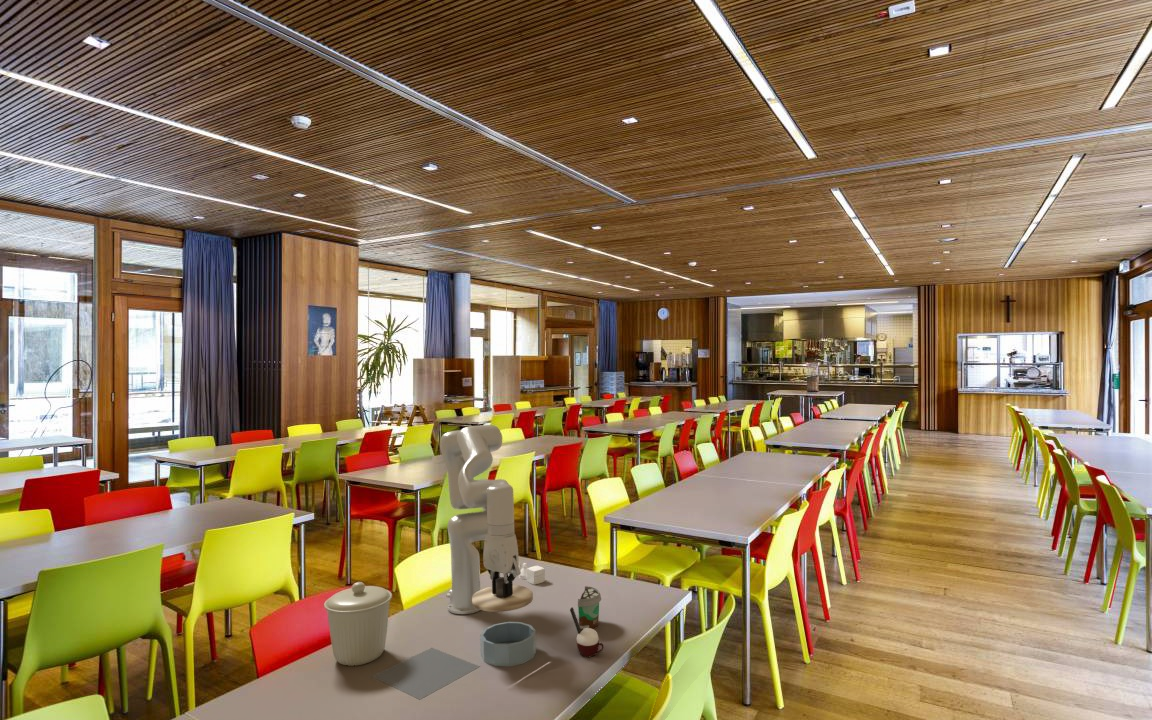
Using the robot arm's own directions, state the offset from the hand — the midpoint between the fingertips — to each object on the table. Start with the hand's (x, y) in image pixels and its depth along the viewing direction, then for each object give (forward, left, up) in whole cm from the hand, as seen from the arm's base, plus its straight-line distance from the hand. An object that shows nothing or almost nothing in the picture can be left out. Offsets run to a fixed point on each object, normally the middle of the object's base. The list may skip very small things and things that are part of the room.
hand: (502, 593), depth 170 cm
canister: (-33, -24, -17) cm, 45 cm away
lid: (0, 0, -2) cm, 2 cm away
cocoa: (+19, +14, -17) cm, 29 cm away
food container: (+9, +30, -17) cm, 36 cm away
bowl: (+1, +1, -17) cm, 17 cm away
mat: (-10, -19, -17) cm, 28 cm away
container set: (-39, +52, -18) cm, 67 cm away
